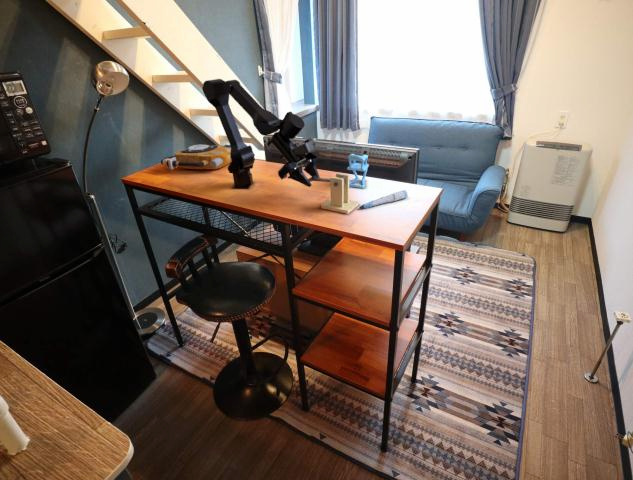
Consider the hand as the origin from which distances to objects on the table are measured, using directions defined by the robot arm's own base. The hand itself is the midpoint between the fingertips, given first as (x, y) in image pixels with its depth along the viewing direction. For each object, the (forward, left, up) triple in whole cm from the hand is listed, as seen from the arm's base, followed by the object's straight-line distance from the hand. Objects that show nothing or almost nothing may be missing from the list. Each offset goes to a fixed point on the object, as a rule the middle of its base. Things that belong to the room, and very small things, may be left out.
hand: (315, 183), depth 117 cm
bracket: (+9, -4, -7) cm, 12 cm away
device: (-59, +35, -7) cm, 69 cm away
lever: (+4, -2, +1) cm, 5 cm away
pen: (+24, 0, -7) cm, 25 cm away
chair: (+14, +18, -7) cm, 24 cm away
